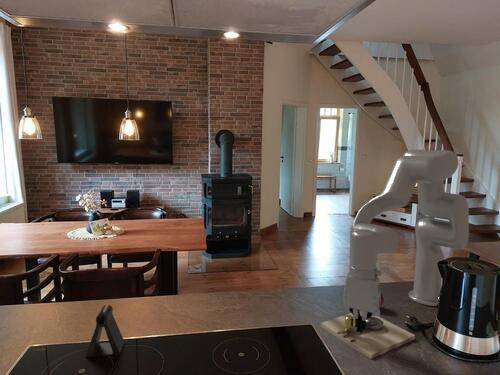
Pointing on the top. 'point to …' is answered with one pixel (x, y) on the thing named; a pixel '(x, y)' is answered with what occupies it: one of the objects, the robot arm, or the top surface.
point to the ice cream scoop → (371, 324)
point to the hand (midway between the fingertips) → (360, 330)
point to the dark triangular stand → (112, 333)
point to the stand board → (370, 336)
